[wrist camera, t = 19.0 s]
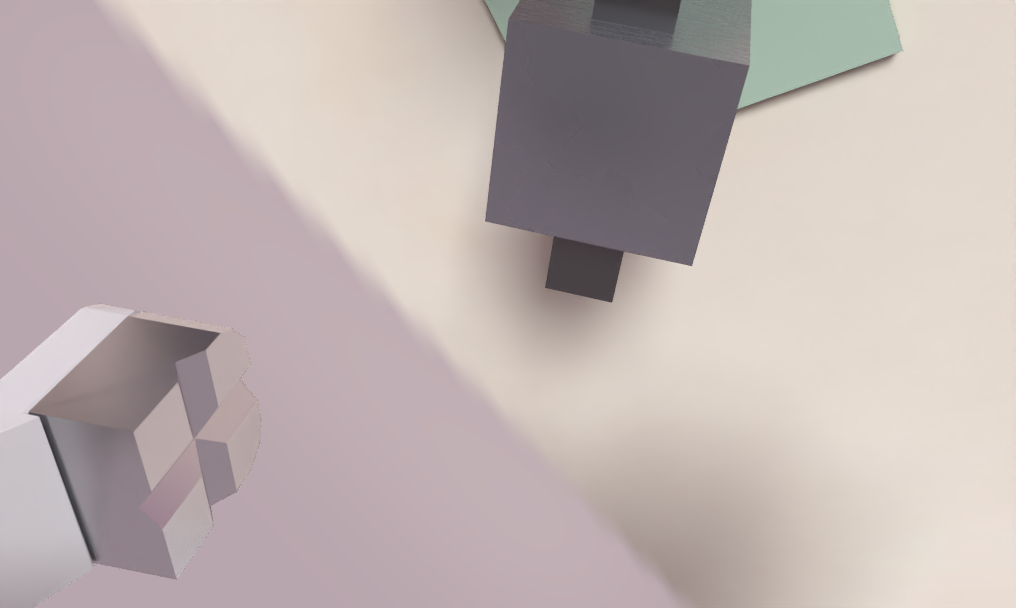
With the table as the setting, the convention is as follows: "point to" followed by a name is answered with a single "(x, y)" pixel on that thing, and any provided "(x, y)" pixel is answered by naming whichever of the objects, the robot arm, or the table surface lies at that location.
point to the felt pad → (797, 40)
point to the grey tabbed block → (615, 128)
